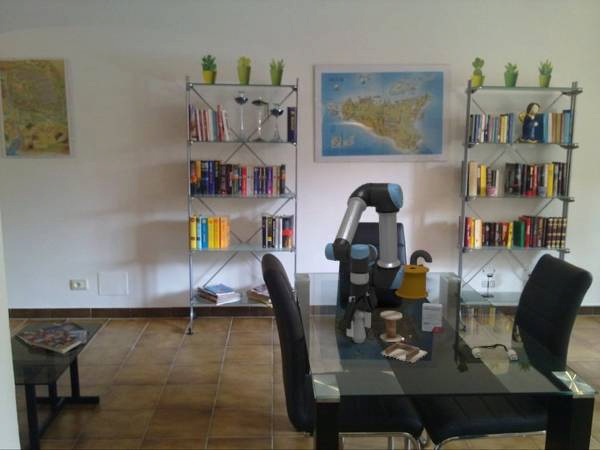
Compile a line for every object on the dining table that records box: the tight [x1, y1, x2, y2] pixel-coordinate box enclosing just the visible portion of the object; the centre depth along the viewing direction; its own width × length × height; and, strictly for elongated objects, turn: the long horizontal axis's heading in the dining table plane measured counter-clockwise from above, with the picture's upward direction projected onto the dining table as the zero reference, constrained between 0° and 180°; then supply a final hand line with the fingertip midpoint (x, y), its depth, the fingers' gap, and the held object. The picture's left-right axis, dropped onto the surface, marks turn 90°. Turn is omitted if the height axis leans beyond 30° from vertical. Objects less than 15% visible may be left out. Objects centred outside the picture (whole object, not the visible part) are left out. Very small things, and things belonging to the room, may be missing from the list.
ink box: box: [421, 302, 443, 333], centre depth 221 cm, size 9×5×12 cm, turn 71°
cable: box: [471, 343, 519, 361], centre depth 197 cm, size 16×16×4 cm
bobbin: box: [379, 310, 403, 343], centre depth 210 cm, size 9×9×11 cm
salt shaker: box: [351, 310, 367, 345], centre depth 207 cm, size 6×6×13 cm
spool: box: [395, 264, 430, 300], centre depth 276 cm, size 18×18×15 cm
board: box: [380, 342, 428, 364], centre depth 195 cm, size 14×12×3 cm
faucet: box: [409, 249, 433, 266], centre depth 302 cm, size 18×16×20 cm
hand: (358, 331), depth 208 cm, fingers open, 13 cm apart
